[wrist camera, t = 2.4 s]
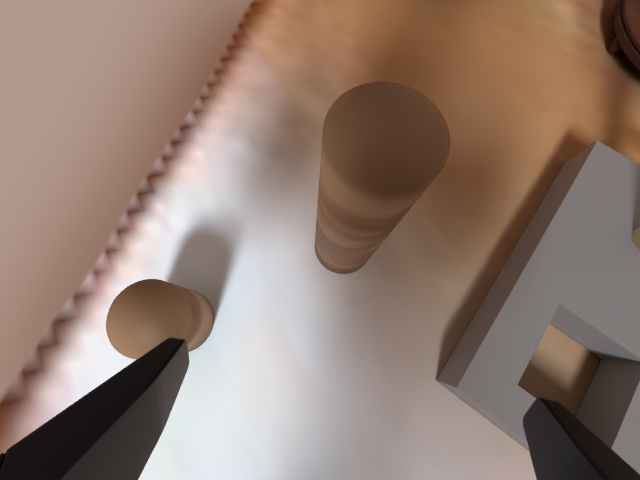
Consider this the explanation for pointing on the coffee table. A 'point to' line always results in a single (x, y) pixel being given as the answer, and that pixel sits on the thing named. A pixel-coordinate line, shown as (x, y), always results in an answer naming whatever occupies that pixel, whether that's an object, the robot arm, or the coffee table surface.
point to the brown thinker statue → (627, 30)
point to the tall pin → (374, 168)
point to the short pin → (157, 317)
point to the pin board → (565, 303)
